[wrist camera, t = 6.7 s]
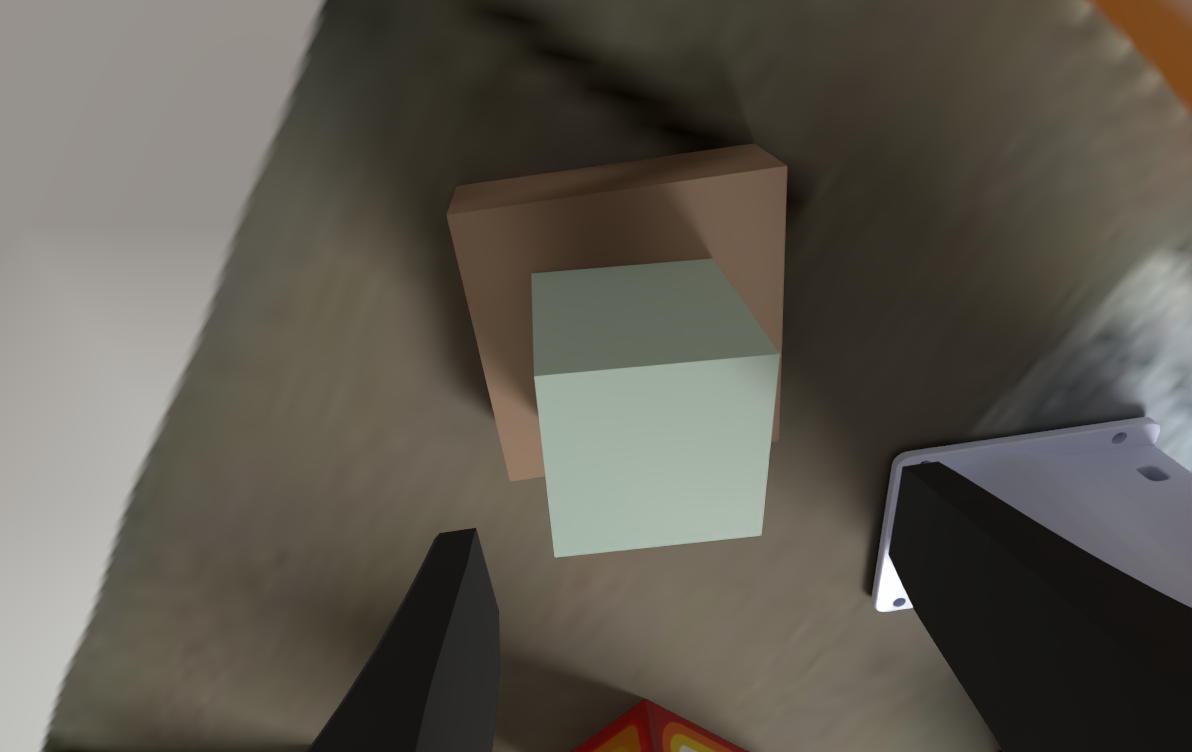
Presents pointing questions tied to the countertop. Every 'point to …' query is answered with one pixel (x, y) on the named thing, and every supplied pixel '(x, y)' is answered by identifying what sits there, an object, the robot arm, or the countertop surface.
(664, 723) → the baking soda box
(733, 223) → the walnut block
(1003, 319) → the countertop surface
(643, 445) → the sage block
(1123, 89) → the countertop surface
